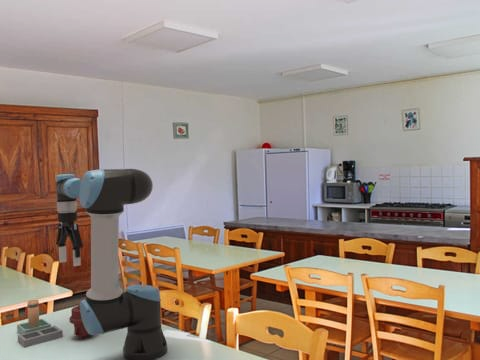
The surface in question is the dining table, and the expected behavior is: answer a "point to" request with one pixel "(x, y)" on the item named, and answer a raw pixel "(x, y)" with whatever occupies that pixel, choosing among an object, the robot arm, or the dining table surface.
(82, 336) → the mechanical component
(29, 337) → the socket block
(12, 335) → the dining table surface
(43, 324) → the parts tray
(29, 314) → the fuse
